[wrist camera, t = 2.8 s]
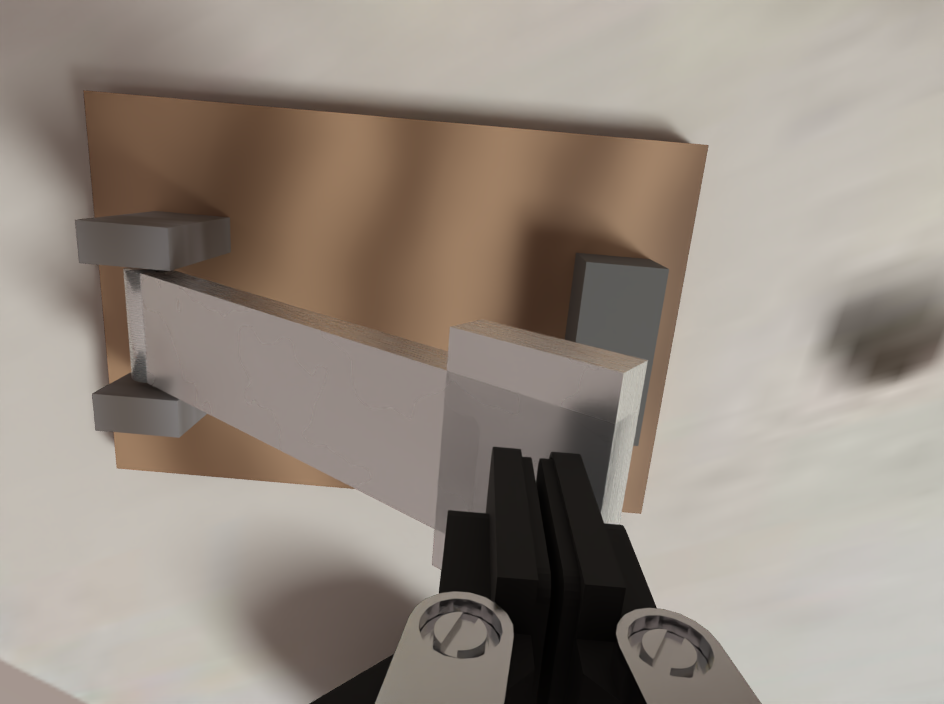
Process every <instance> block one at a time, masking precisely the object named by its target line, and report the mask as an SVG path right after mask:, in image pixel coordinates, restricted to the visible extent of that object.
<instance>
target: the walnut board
mask: <svg viewBox="0 0 944 704" xmlns="http://www.w3.org/2000/svg"><path fill="white" fill-rule="evenodd" d="M83 92H84V103H85V114H86V126H87V137H88V148H89V160H90V171H91V182H92V194H93V205H94V216H95V218H87V219H78V220H75V225H76V235H77V245H78V256H79V263H84V264H96V265H99V273H100V284H101V295H102V307H103V318H104V329H105V341H106V352H107V363H108V375H109V385H107V386H105V387H103V388H101V389H100V390H98V391H96V392H94V393H92V399H93V410H94V420H95V430H96V431H108V432H114V442H115V454H116V465H117V468H119V469H131V470H142V471H154V472H165V473H177V474H189V475H200V476H212V477H223V478H235V479H246V480H258V481H269V482H281V483H293V484H304V485H316V486H327V487H339V488H350V489H355V488H353V487H351V486H349V485H347V484H345V483H343V482H341V481H339V480H337V479H335V478H333V477H331V476H329V475H327V474H325V473H323V472H321V471H320V470H318V469H316V468H314V467H312V466H310V465H308V464H306V463H304V462H302V461H300V460H298V459H296V458H294V457H292V456H290V455H288V454H286V453H284V452H282V451H280V450H278V449H276V448H274V447H272V446H270V445H268V444H266V443H264V442H262V441H260V440H258V439H257V438H255V437H253V436H251V435H249V434H247V433H245V432H243V431H241V430H239V429H237V428H235V427H233V426H231V425H229V424H227V423H225V422H223V421H221V420H219V419H217V418H215V417H213V416H211V415H209V414H207V413H205V412H203V411H201V410H199V409H197V408H195V407H194V406H192V405H190V404H188V403H186V402H184V401H182V400H180V399H178V398H176V397H174V396H172V395H170V394H168V393H166V392H164V391H162V390H160V389H158V388H156V387H154V386H152V385H150V384H148V383H142V382H137V381H134V380H133V379H132V374H131V361H130V348H129V335H128V322H127V309H126V296H125V283H124V270H123V269H124V268H126V267H130V268H142V269H153V270H165V271H171V270H174V271H178V272H181V273H184V274H188V275H191V276H195V277H198V278H201V279H205V280H208V281H212V282H215V283H218V284H222V285H225V286H228V287H232V288H235V289H239V290H242V291H245V292H249V293H252V294H256V295H259V296H262V297H266V298H269V299H272V300H276V301H279V302H283V303H286V304H289V305H293V306H296V307H300V308H303V309H306V310H310V311H313V312H317V313H320V314H323V315H327V316H330V317H333V318H337V319H340V320H344V321H347V322H350V323H354V324H357V325H361V326H364V327H367V328H371V329H374V330H377V331H381V332H384V333H388V334H391V335H394V336H398V337H401V338H405V339H408V340H411V341H415V342H418V343H421V344H425V345H428V346H432V347H435V348H438V349H442V350H445V351H448V346H449V333H450V327H451V326H455V325H460V324H464V323H468V322H472V321H476V320H481V319H483V320H487V321H491V322H495V323H499V324H503V325H507V326H511V327H515V328H519V329H524V330H528V331H532V332H536V333H540V334H544V335H548V336H552V337H556V338H560V339H564V340H565V333H566V325H567V318H568V310H569V302H570V295H571V287H572V280H573V272H574V264H575V257H576V253H585V254H597V255H608V256H619V257H631V258H642V259H651V260H653V261H655V262H656V263H658V264H660V265H662V266H664V267H666V268H668V269H669V274H668V280H667V285H666V291H665V297H664V302H663V308H662V314H661V319H660V325H659V331H658V337H657V342H656V348H655V354H654V359H653V365H652V371H651V376H650V382H649V388H648V394H647V399H646V405H645V411H644V416H643V422H642V428H641V433H640V439H639V445H638V446H633V449H632V455H631V461H630V467H629V472H628V478H627V484H626V490H625V495H624V501H623V507H622V512H628V513H639V514H641V511H642V506H643V500H644V495H645V489H646V484H647V479H648V473H649V468H650V462H651V457H652V451H653V446H654V440H655V435H656V429H657V424H658V418H659V413H660V408H661V402H662V397H663V391H664V386H665V380H666V375H667V369H668V364H669V358H670V353H671V347H672V342H673V337H674V331H675V326H676V320H677V315H678V309H679V304H680V298H681V293H682V287H683V282H684V276H685V271H686V266H687V260H688V255H689V249H690V244H691V238H692V233H693V227H694V222H695V216H696V211H697V205H698V200H699V195H700V189H701V184H702V178H703V173H704V167H705V162H706V156H707V151H708V145H701V144H689V143H678V142H667V141H655V140H644V139H632V138H621V137H610V136H598V135H587V134H575V133H564V132H552V131H541V130H530V129H518V128H507V127H495V126H484V125H473V124H461V123H450V122H438V121H427V120H416V119H404V118H393V117H381V116H370V115H358V114H347V113H336V112H324V111H313V110H301V109H290V108H279V107H267V106H256V105H244V104H233V103H222V102H210V101H199V100H187V99H176V98H164V97H153V96H142V95H130V94H119V93H107V92H96V91H85V90H83Z"/></svg>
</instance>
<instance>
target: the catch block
mask: <svg viewBox="0 0 944 704" xmlns="http://www.w3.org/2000/svg"><path fill="white" fill-rule="evenodd" d="M668 274H669V269H668V268H666V267H664V266H662V265H660V264H658V263H656V262H655V261H653V260H651V259H642V258H631V257H619V256H608V255H597V254H585V253H576V257H575V264H574V272H573V280H572V287H571V295H570V302H569V310H568V318H567V325H566V333H565V340H568V341H572V342H576V343H580V344H584V345H588V346H592V347H596V348H600V349H604V350H608V351H612V352H616V353H620V354H624V355H628V356H632V357H636V358H640V359H644V360H648V362H647V368H646V374H645V380H644V385H643V391H642V397H641V403H640V409H639V414H638V420H637V426H636V432H635V438H634V443H633V446H638V445H639V439H640V433H641V428H642V422H643V416H644V411H645V405H646V399H647V394H648V388H649V382H650V376H651V371H652V365H653V359H654V354H655V348H656V342H657V337H658V331H659V325H660V319H661V314H662V308H663V302H664V297H665V291H666V285H667V280H668Z"/></svg>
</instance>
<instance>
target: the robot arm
mask: <svg viewBox="0 0 944 704" xmlns="http://www.w3.org/2000/svg"><path fill="white" fill-rule="evenodd" d="M310 704H761V702H760V701H759V699H758V698H757V696H756V695H755V693H754V692H753V691H752V689H751V688H750V686H749V685H748V683H747V682H746V680H745V679H744V678H743V676H742V675H741V673H740V672H739V670H738V669H737V667H736V666H735V665H734V663H733V662H732V660H731V659H730V657H729V656H728V654H727V653H726V652H725V650H724V649H723V647H722V646H721V644H720V643H719V642H718V641H717V640H716V638H715V637H714V636H713V635H712V634H711V633H710V632H709V631H708V630H707V629H705V628H704V627H703V626H701V625H700V624H698V623H697V622H696V621H694V620H692V619H690V618H688V617H686V616H684V615H682V614H679V613H676V612H672V611H669V610H665V609H657V608H656V605H655V602H654V600H653V597H652V595H651V592H650V590H649V587H648V585H647V582H646V580H645V577H644V575H643V572H642V570H641V567H640V565H639V562H638V560H637V557H636V555H635V552H634V550H633V547H632V545H631V542H630V540H629V537H628V534H627V532H626V530H625V528H624V526H623V525H619V524H607V523H604V522H603V519H602V516H601V513H600V510H599V507H598V504H597V501H596V498H595V495H594V492H593V489H592V487H591V484H590V481H589V478H588V475H587V472H586V469H585V466H584V463H583V460H582V457H581V455H580V454H574V453H563V452H551V453H550V456H549V459H545V458H540V459H539V463H538V469H537V477H536V480H535V474H534V468H533V462H532V458H531V457H522V452H521V449H516V448H504V447H493V448H492V455H491V464H490V474H489V484H488V493H487V503H486V513H478V512H466V511H454V510H448V515H447V524H446V533H445V542H444V551H443V560H442V569H441V578H440V587H439V594H437V595H434V596H432V597H429V598H426V599H425V600H424V601H422V602H421V603H420V604H418V605H417V606H416V607H415V608H414V610H413V612H412V613H411V615H410V616H409V618H408V621H407V623H406V626H405V628H404V631H403V634H402V636H401V639H400V641H399V644H398V646H397V649H396V651H395V654H393V655H391V656H390V657H388V658H386V659H385V660H383V661H381V662H380V663H378V664H376V665H374V666H373V667H371V668H369V669H368V670H366V671H364V672H363V673H361V674H359V675H357V676H356V677H354V678H352V679H351V680H349V681H347V682H346V683H344V684H342V685H340V686H339V687H337V688H335V689H334V690H332V691H330V692H329V693H327V694H325V695H323V696H322V697H320V698H318V699H317V700H315V701H313V702H312V703H310Z"/></svg>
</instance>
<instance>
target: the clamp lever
mask: <svg viewBox="0 0 944 704" xmlns="http://www.w3.org/2000/svg"><path fill="white" fill-rule="evenodd" d="M123 270H124V283H125V296H126V309H127V322H128V335H129V348H130V361H131V374H132V379H133V380H134V381H137V382H142V383H148V384H150V385H152V386H154V387H156V388H158V389H160V390H162V391H164V392H166V393H168V394H170V395H172V396H174V397H176V398H178V399H180V400H182V401H184V402H186V403H188V404H190V405H192V406H194V407H195V408H197V409H199V410H201V411H203V412H205V413H207V414H209V415H211V416H213V417H215V418H217V419H219V420H221V421H223V422H225V423H227V424H229V425H231V426H233V427H235V428H237V429H239V430H241V431H243V432H245V433H247V434H249V435H251V436H253V437H255V438H257V439H258V440H260V441H262V442H264V443H266V444H268V445H270V446H272V447H274V448H276V449H278V450H280V451H282V452H284V453H286V454H288V455H290V456H292V457H294V458H296V459H298V460H300V461H302V462H304V463H306V464H308V465H310V466H312V467H314V468H316V469H318V470H320V471H321V472H323V473H325V474H327V475H329V476H331V477H333V478H335V479H337V480H339V481H341V482H343V483H345V484H347V485H349V486H351V487H353V488H355V489H357V490H359V491H361V492H363V493H365V494H367V495H369V496H371V497H373V498H375V499H377V500H379V501H381V502H383V503H385V504H386V505H388V506H390V507H392V508H394V509H396V510H398V511H400V512H402V513H404V514H406V515H408V516H410V517H412V518H414V519H416V520H418V521H420V522H422V523H424V524H426V525H428V526H430V527H432V528H434V529H435V530H434V543H433V556H432V565H433V566H435V567H437V568H439V569H440V570H441V569H442V560H443V551H444V542H445V533H446V524H447V515H448V510H454V511H466V512H478V513H486V503H487V493H488V484H489V474H490V464H491V455H492V448H493V447H504V448H516V449H521V452H522V457H531V458H532V462H533V468H534V474H535V480H536V477H537V469H538V463H539V459H540V458H545V459H549V456H550V453H551V452H563V453H574V454H580V455H581V457H582V460H583V463H584V466H585V469H586V472H587V475H588V478H589V481H590V484H591V487H592V489H593V492H594V495H595V498H596V501H597V504H598V507H599V510H600V513H601V516H602V519H603V522H604V523H607V524H620V519H621V513H622V507H623V501H624V495H625V490H626V484H627V478H628V472H629V467H630V461H631V455H632V449H633V443H634V438H635V432H636V426H637V420H638V414H639V409H640V403H641V397H642V391H643V385H644V380H645V374H646V368H647V362H648V360H644V359H640V358H636V357H632V356H628V355H624V354H620V353H616V352H612V351H608V350H604V349H600V348H596V347H592V346H588V345H584V344H580V343H576V342H572V341H568V340H564V339H560V338H556V337H552V336H548V335H544V334H540V333H536V332H532V331H528V330H524V329H519V328H515V327H511V326H507V325H503V324H499V323H495V322H491V321H487V320H483V319H481V320H476V321H472V322H468V323H464V324H460V325H455V326H451V327H450V333H449V346H448V351H445V350H442V349H438V348H435V347H432V346H428V345H425V344H421V343H418V342H415V341H411V340H408V339H405V338H401V337H398V336H394V335H391V334H388V333H384V332H381V331H377V330H374V329H371V328H367V327H364V326H361V325H357V324H354V323H350V322H347V321H344V320H340V319H337V318H333V317H330V316H327V315H323V314H320V313H317V312H313V311H310V310H306V309H303V308H300V307H296V306H293V305H289V304H286V303H283V302H279V301H276V300H272V299H269V298H266V297H262V296H259V295H256V294H252V293H249V292H245V291H242V290H239V289H235V288H232V287H228V286H225V285H222V284H218V283H215V282H212V281H208V280H205V279H201V278H198V277H195V276H191V275H188V274H184V273H181V272H178V271H174V270H171V271H165V270H153V269H142V268H130V267H126V268H124V269H123Z"/></svg>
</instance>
